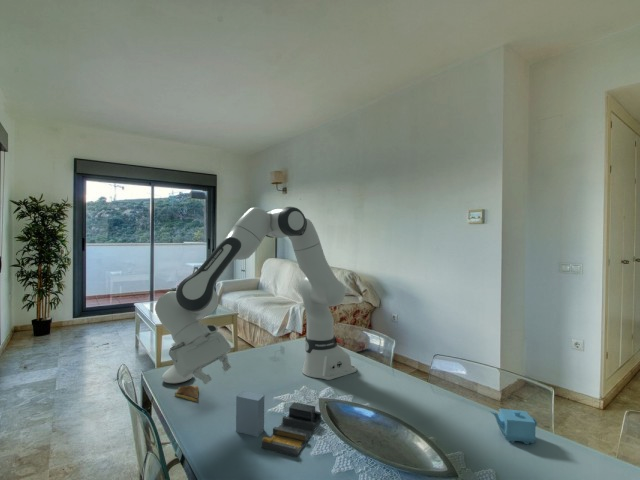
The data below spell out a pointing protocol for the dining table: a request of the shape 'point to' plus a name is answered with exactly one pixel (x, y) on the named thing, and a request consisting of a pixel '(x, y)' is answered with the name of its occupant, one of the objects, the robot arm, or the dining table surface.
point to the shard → (188, 392)
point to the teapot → (516, 425)
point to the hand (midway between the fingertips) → (219, 375)
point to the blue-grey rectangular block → (250, 413)
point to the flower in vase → (174, 375)
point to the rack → (293, 430)
